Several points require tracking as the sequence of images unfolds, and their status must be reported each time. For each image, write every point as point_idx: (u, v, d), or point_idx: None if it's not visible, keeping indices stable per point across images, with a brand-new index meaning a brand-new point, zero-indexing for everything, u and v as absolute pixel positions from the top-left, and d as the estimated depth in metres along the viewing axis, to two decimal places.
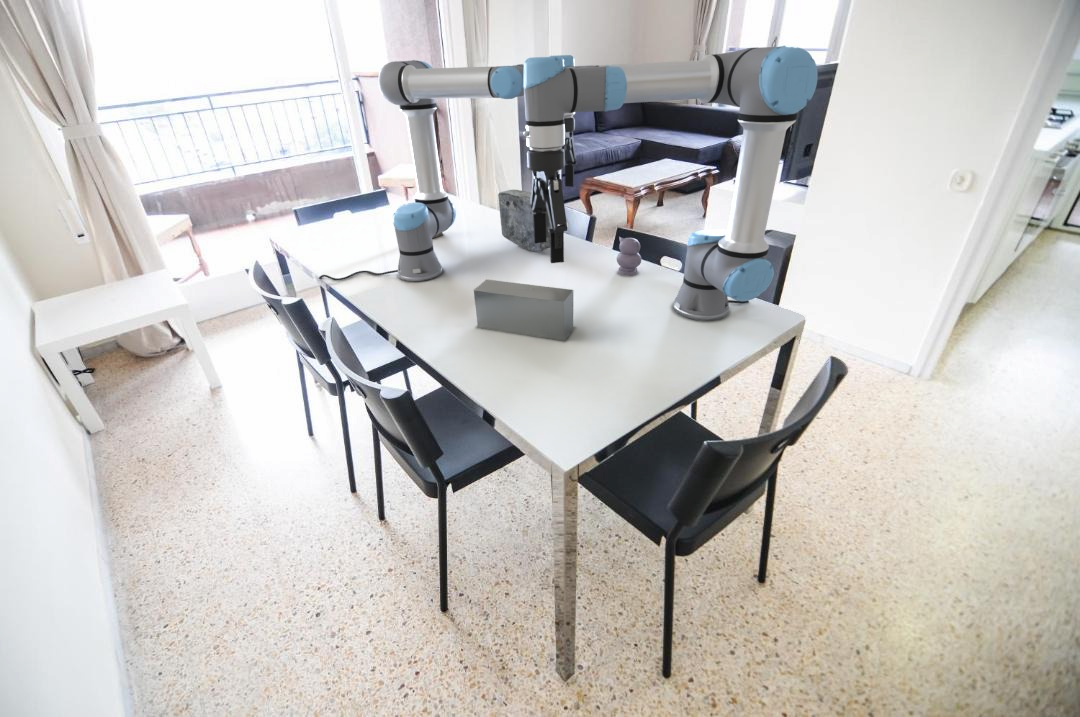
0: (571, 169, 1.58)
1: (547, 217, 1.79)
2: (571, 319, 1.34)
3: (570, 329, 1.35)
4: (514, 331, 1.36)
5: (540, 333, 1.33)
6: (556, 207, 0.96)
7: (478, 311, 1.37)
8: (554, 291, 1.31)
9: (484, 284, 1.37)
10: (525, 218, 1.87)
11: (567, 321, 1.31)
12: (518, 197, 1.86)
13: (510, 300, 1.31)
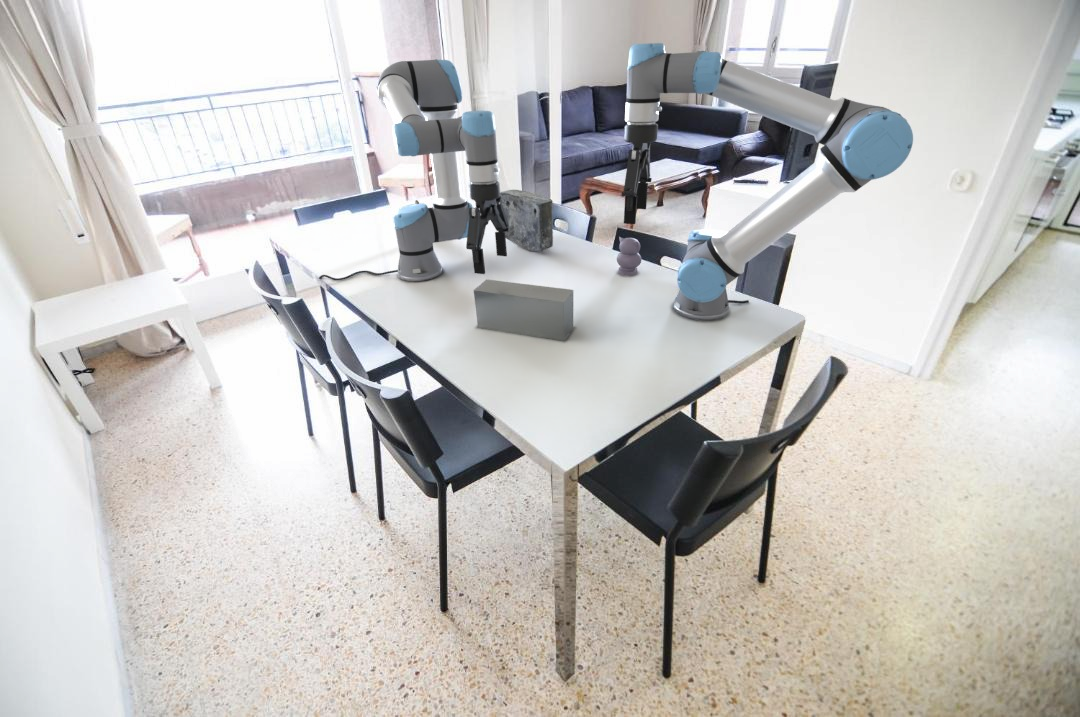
0: (502, 237, 1.34)
1: (547, 217, 1.79)
2: (571, 319, 1.34)
3: (570, 329, 1.35)
4: (514, 331, 1.36)
5: (540, 333, 1.33)
6: None
7: (478, 311, 1.37)
8: (554, 291, 1.31)
9: (484, 284, 1.37)
10: (525, 218, 1.87)
11: (567, 321, 1.31)
12: (518, 197, 1.86)
13: (510, 300, 1.31)
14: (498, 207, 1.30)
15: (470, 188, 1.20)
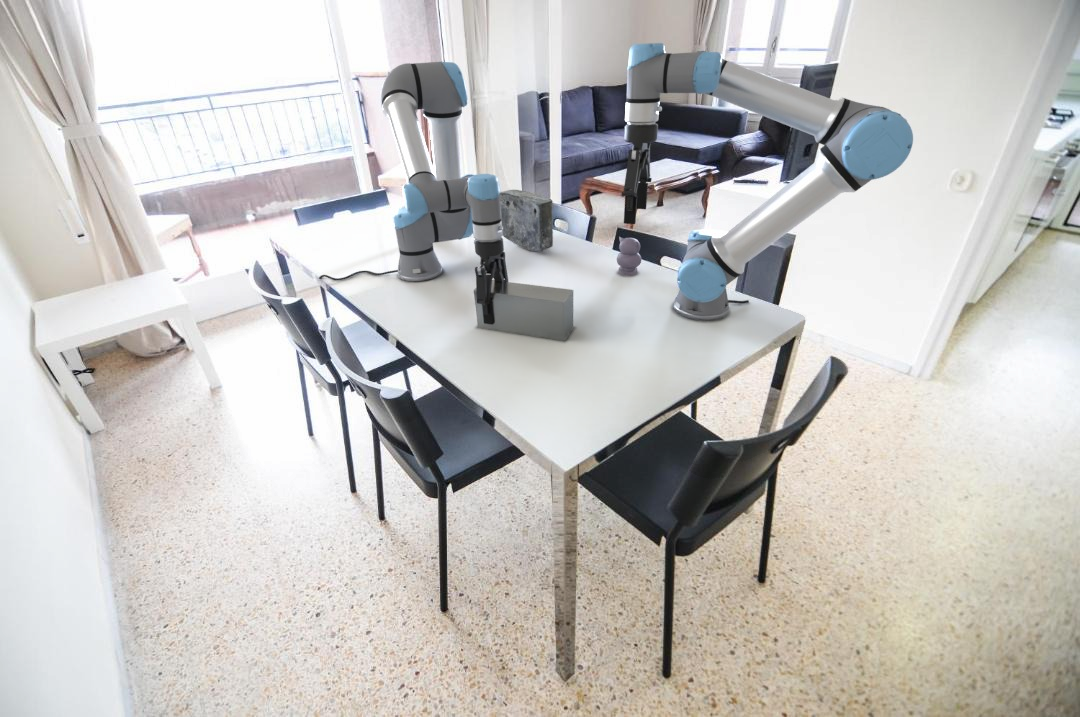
0: None
1: (547, 217, 1.79)
2: (571, 319, 1.34)
3: (570, 329, 1.35)
4: (514, 331, 1.36)
5: (540, 333, 1.33)
6: None
7: (478, 311, 1.37)
8: (554, 291, 1.31)
9: None
10: (525, 218, 1.87)
11: (566, 321, 1.31)
12: (518, 197, 1.86)
13: (510, 300, 1.31)
14: (501, 262, 1.37)
15: (475, 245, 1.28)
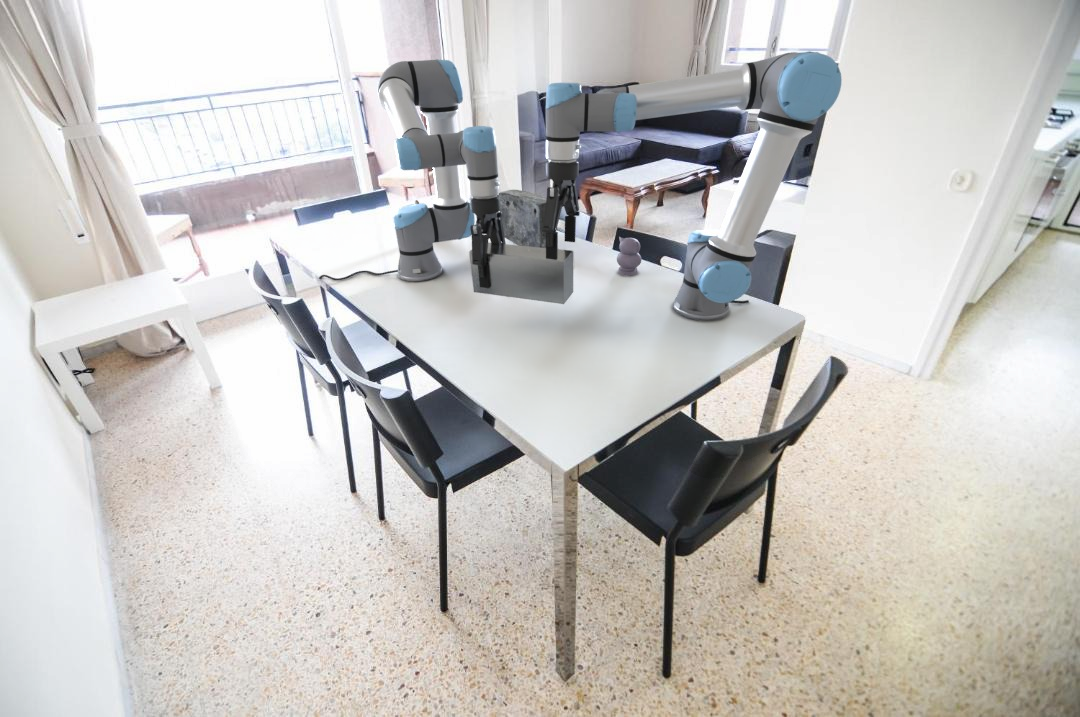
0: None
1: None
2: (571, 282, 1.29)
3: (570, 293, 1.30)
4: (511, 295, 1.30)
5: (538, 297, 1.28)
6: None
7: (474, 274, 1.31)
8: None
9: None
10: (525, 218, 1.87)
11: (566, 283, 1.25)
12: (518, 197, 1.86)
13: (507, 262, 1.26)
14: (498, 223, 1.32)
15: (471, 202, 1.22)
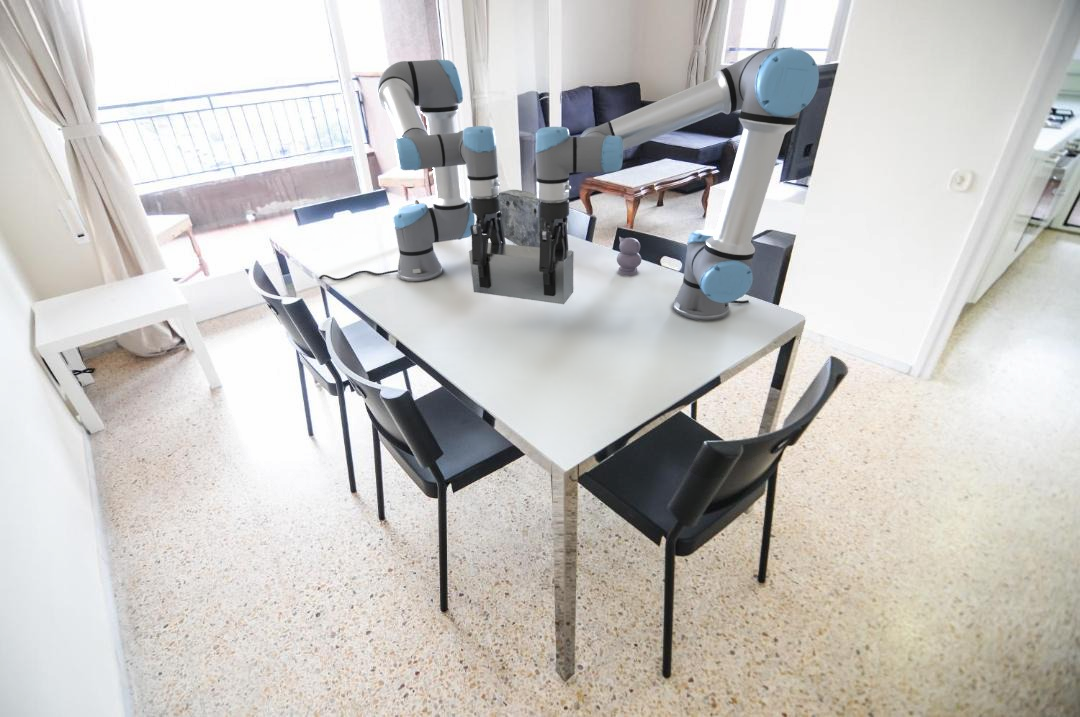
0: None
1: None
2: (571, 282, 1.29)
3: (570, 293, 1.30)
4: (511, 295, 1.30)
5: (538, 297, 1.28)
6: None
7: (474, 274, 1.31)
8: None
9: None
10: (525, 218, 1.87)
11: (566, 283, 1.25)
12: (518, 197, 1.86)
13: (507, 262, 1.26)
14: (498, 223, 1.32)
15: (471, 202, 1.22)
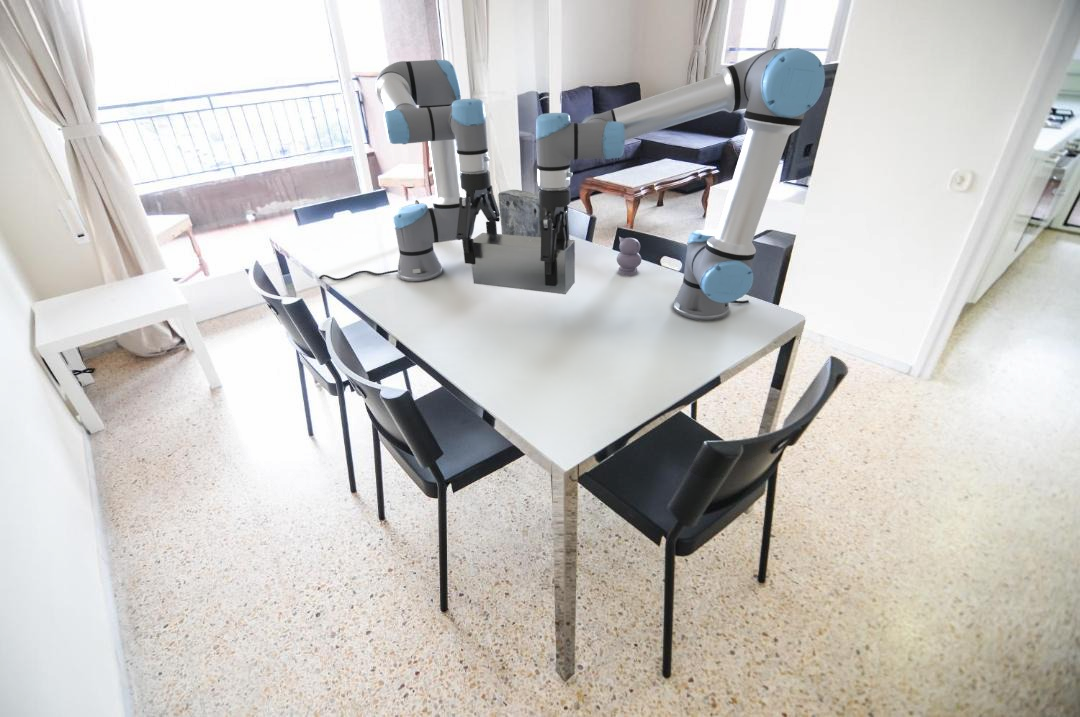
0: (493, 227, 1.34)
1: None
2: (572, 272, 1.27)
3: (571, 283, 1.28)
4: (512, 286, 1.28)
5: (539, 287, 1.26)
6: None
7: (474, 265, 1.29)
8: None
9: (480, 236, 1.30)
10: (525, 218, 1.87)
11: (568, 273, 1.24)
12: (518, 197, 1.86)
13: (507, 252, 1.24)
14: (489, 197, 1.30)
15: (460, 177, 1.20)
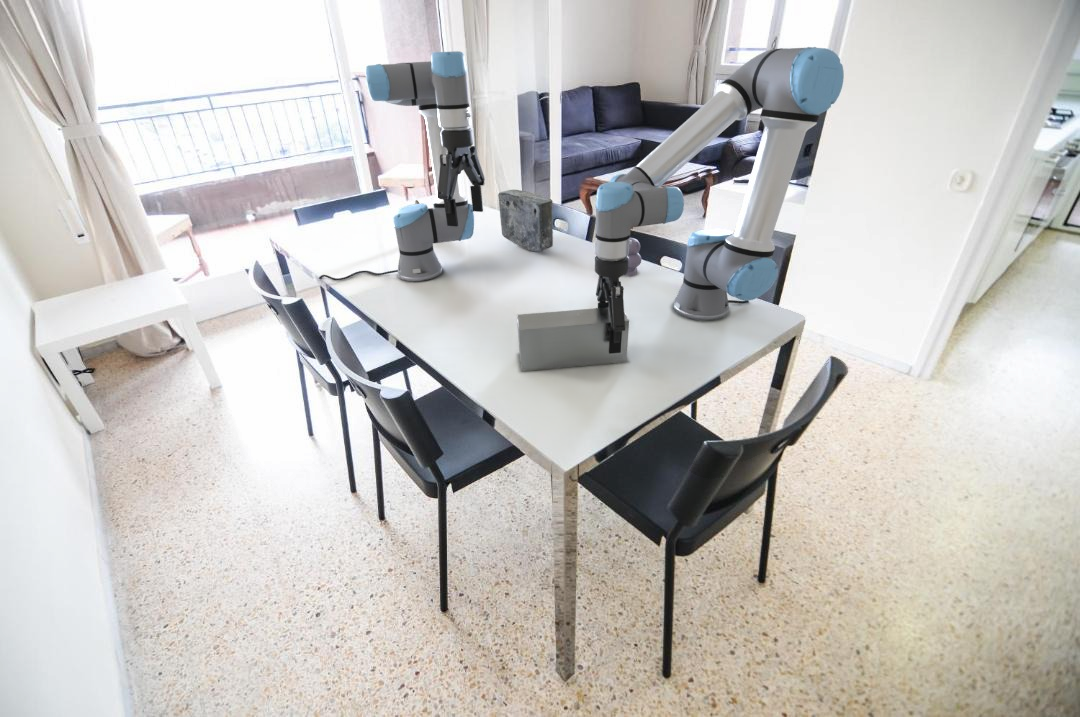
0: (478, 191, 1.30)
1: (547, 217, 1.79)
2: None
3: None
4: (568, 365, 1.20)
5: (599, 360, 1.20)
6: None
7: (524, 352, 1.17)
8: (605, 312, 1.20)
9: (522, 320, 1.18)
10: (525, 218, 1.87)
11: None
12: (518, 197, 1.86)
13: (565, 332, 1.15)
14: (472, 158, 1.26)
15: (441, 135, 1.16)
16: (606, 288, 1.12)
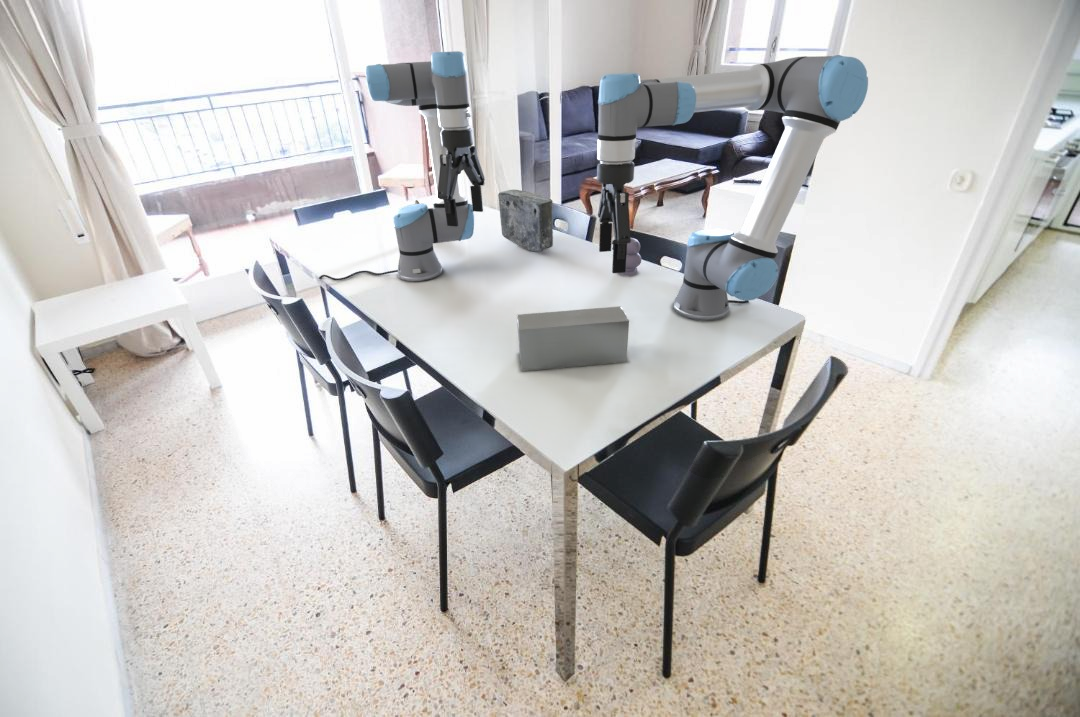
0: (478, 191, 1.30)
1: (547, 217, 1.79)
2: None
3: None
4: (568, 365, 1.20)
5: (599, 360, 1.20)
6: None
7: (524, 352, 1.17)
8: (605, 312, 1.20)
9: (522, 320, 1.18)
10: (525, 218, 1.87)
11: None
12: (518, 197, 1.86)
13: (565, 332, 1.15)
14: (472, 158, 1.26)
15: (441, 135, 1.16)
16: (609, 198, 1.02)
